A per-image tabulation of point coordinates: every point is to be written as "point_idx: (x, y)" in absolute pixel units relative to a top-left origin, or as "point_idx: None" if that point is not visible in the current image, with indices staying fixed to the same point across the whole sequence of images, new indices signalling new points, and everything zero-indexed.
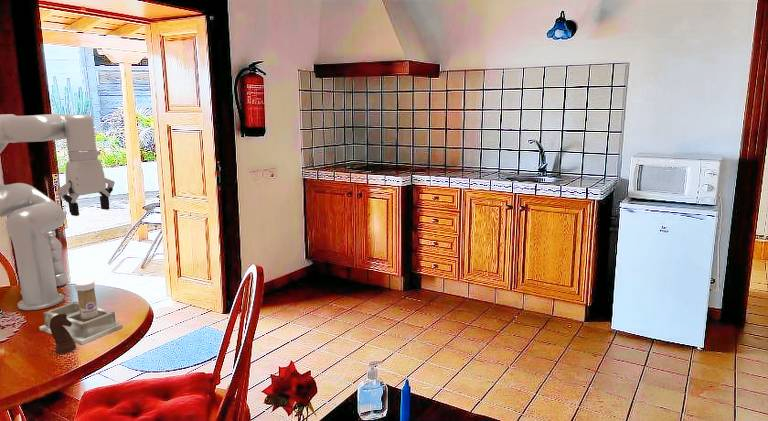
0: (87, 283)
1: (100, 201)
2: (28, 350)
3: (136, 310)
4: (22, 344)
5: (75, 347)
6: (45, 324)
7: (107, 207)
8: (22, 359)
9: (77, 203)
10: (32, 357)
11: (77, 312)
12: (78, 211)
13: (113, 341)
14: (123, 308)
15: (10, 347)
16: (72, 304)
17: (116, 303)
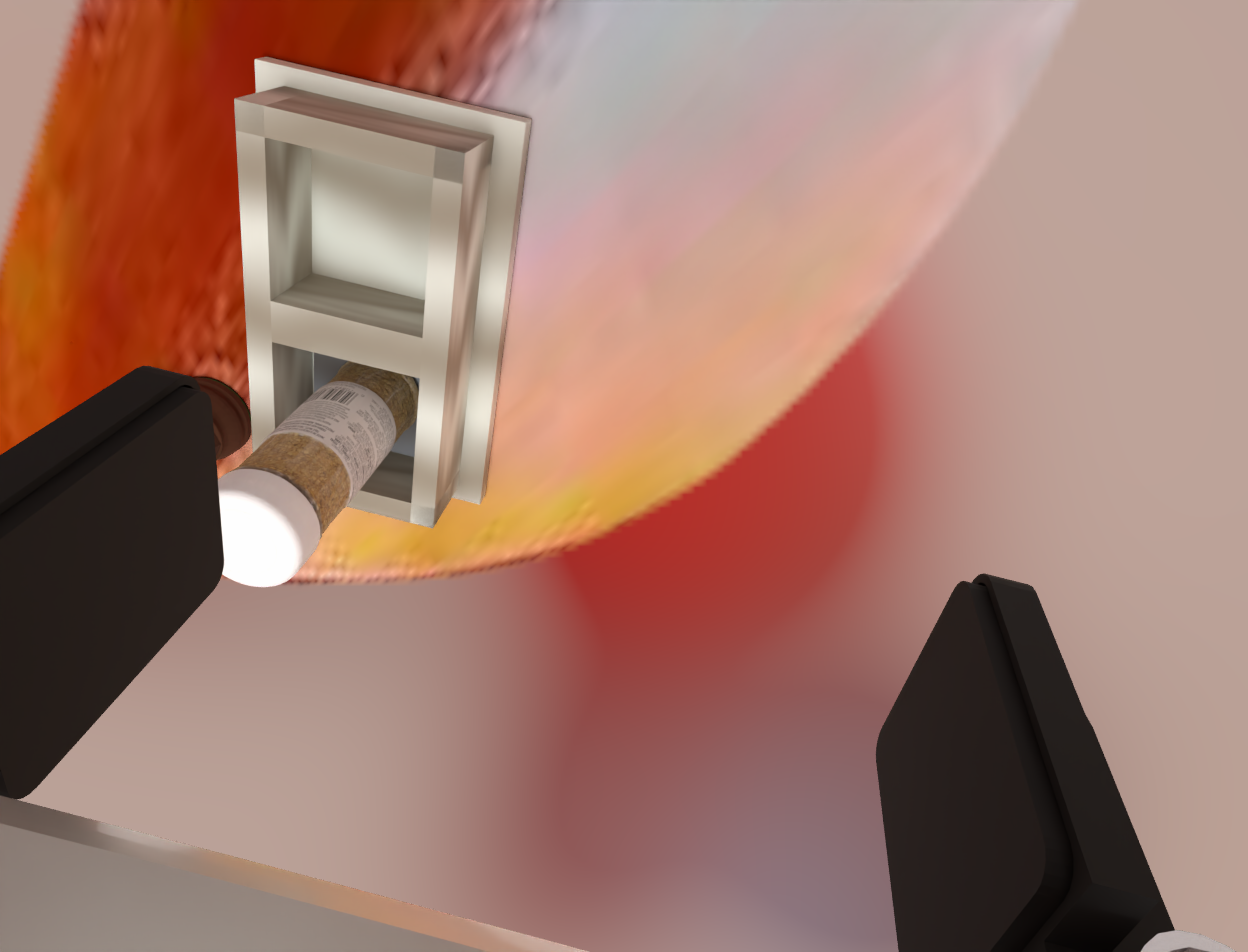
0: (235, 578)
1: (1009, 735)
2: (111, 243)
3: (698, 417)
4: (121, 143)
5: (237, 449)
6: (280, 87)
7: (892, 789)
8: (58, 299)
9: (18, 797)
10: (93, 327)
11: (341, 332)
12: (164, 632)
13: (365, 545)
14: (707, 319)
15: (67, 109)
16: (421, 174)
17: (776, 204)
